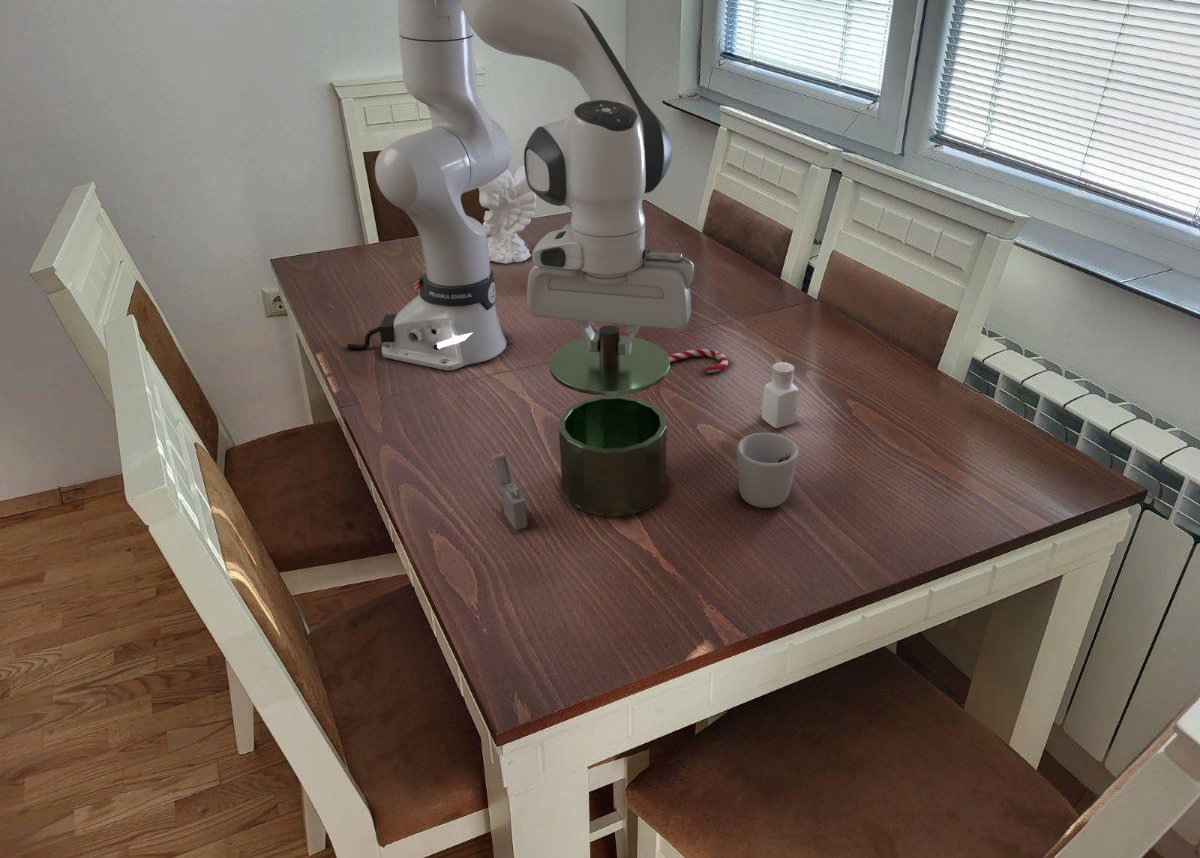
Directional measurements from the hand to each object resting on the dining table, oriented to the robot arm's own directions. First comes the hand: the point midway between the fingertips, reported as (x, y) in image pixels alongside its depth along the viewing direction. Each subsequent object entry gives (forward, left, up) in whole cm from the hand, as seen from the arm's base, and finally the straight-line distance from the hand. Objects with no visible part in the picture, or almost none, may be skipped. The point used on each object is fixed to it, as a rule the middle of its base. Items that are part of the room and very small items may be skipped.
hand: (609, 351), depth 113 cm
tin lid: (0, 0, -2) cm, 2 cm away
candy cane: (+4, +37, -21) cm, 43 cm away
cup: (+20, +3, -21) cm, 29 cm away
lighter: (-12, -9, -21) cm, 26 cm away
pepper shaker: (+21, +22, -21) cm, 37 cm away
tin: (0, 0, -21) cm, 21 cm away
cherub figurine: (-44, +84, -21) cm, 97 cm away
